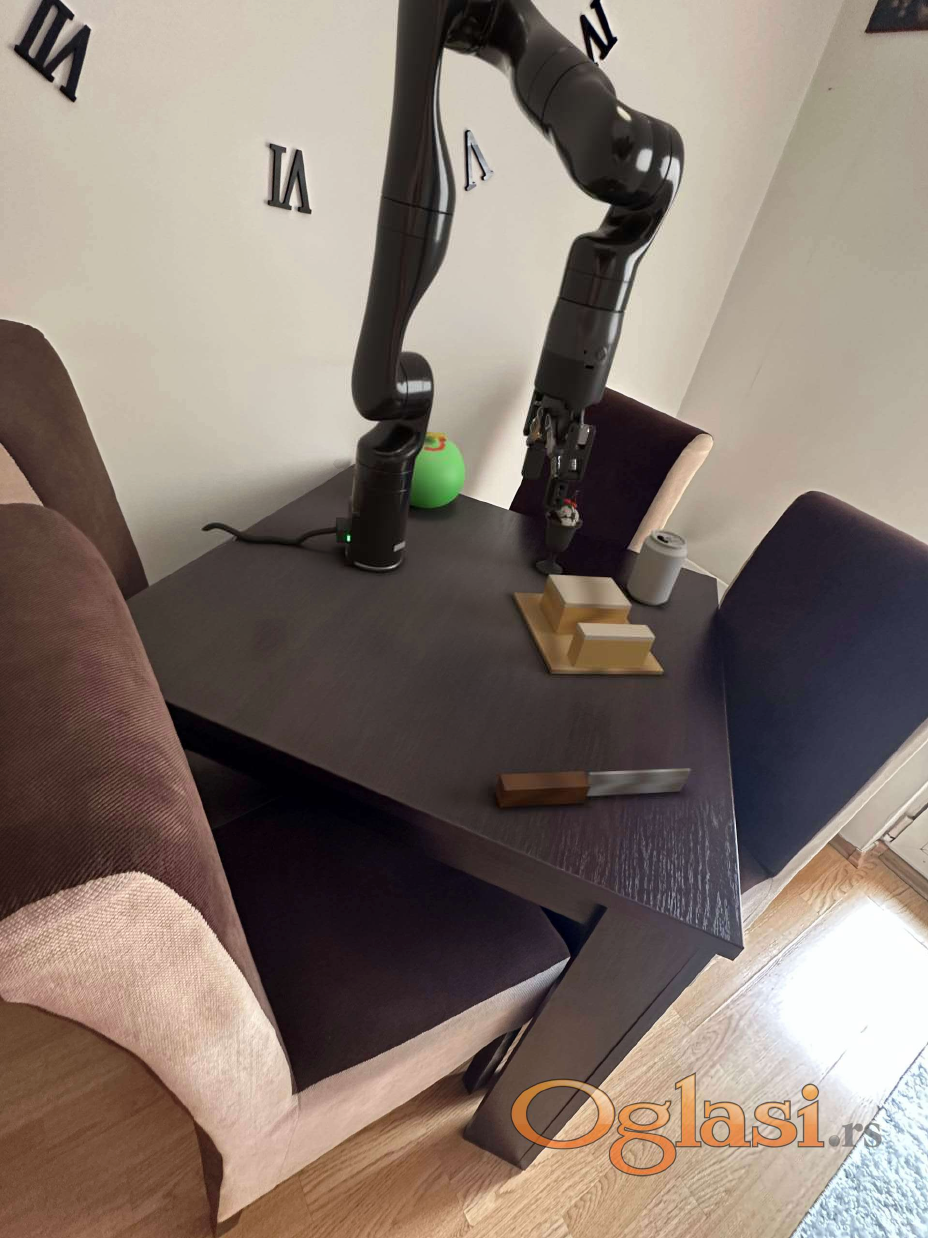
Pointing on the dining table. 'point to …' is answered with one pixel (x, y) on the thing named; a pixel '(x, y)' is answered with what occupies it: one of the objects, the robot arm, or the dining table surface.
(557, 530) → the sundae
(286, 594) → the dining table surface
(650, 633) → the cake slice
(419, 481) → the toy bird
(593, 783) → the knife
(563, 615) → the wooden stepped base
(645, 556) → the can
